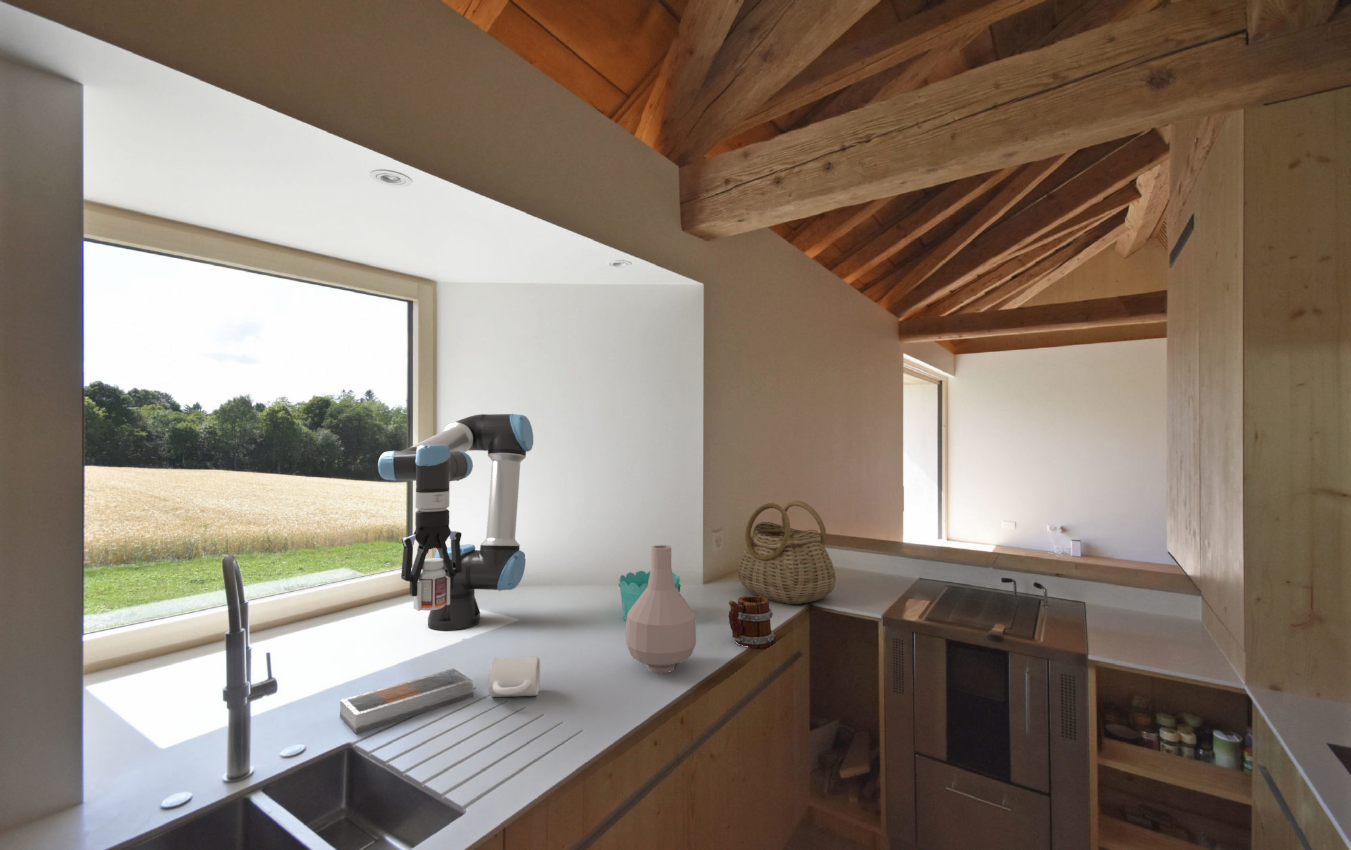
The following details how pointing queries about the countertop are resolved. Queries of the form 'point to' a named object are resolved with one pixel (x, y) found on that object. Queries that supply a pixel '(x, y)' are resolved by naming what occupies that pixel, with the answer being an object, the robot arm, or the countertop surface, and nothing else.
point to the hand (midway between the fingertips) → (431, 606)
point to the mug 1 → (514, 677)
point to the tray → (404, 700)
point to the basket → (786, 559)
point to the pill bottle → (433, 584)
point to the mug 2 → (751, 621)
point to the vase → (661, 619)
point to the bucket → (636, 588)
